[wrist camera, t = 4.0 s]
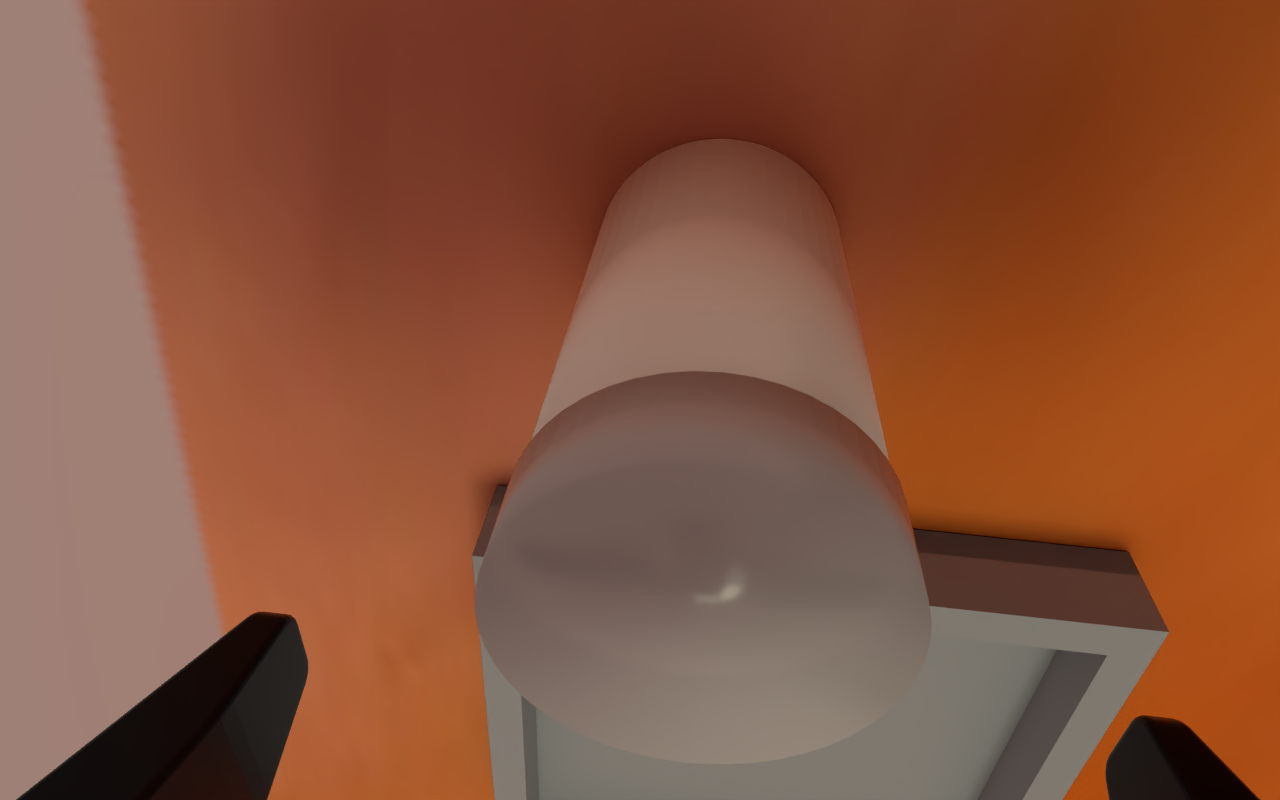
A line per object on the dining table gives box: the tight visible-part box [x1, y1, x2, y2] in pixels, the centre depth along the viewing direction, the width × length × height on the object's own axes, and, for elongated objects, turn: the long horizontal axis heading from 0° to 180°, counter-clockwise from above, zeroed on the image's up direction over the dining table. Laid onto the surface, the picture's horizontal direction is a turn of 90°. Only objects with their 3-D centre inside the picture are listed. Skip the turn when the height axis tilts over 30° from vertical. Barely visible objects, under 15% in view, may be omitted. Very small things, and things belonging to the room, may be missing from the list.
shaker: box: [475, 139, 932, 764], centre depth 14 cm, size 5×5×10 cm
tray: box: [472, 486, 1169, 800], centre depth 25 cm, size 16×16×2 cm
